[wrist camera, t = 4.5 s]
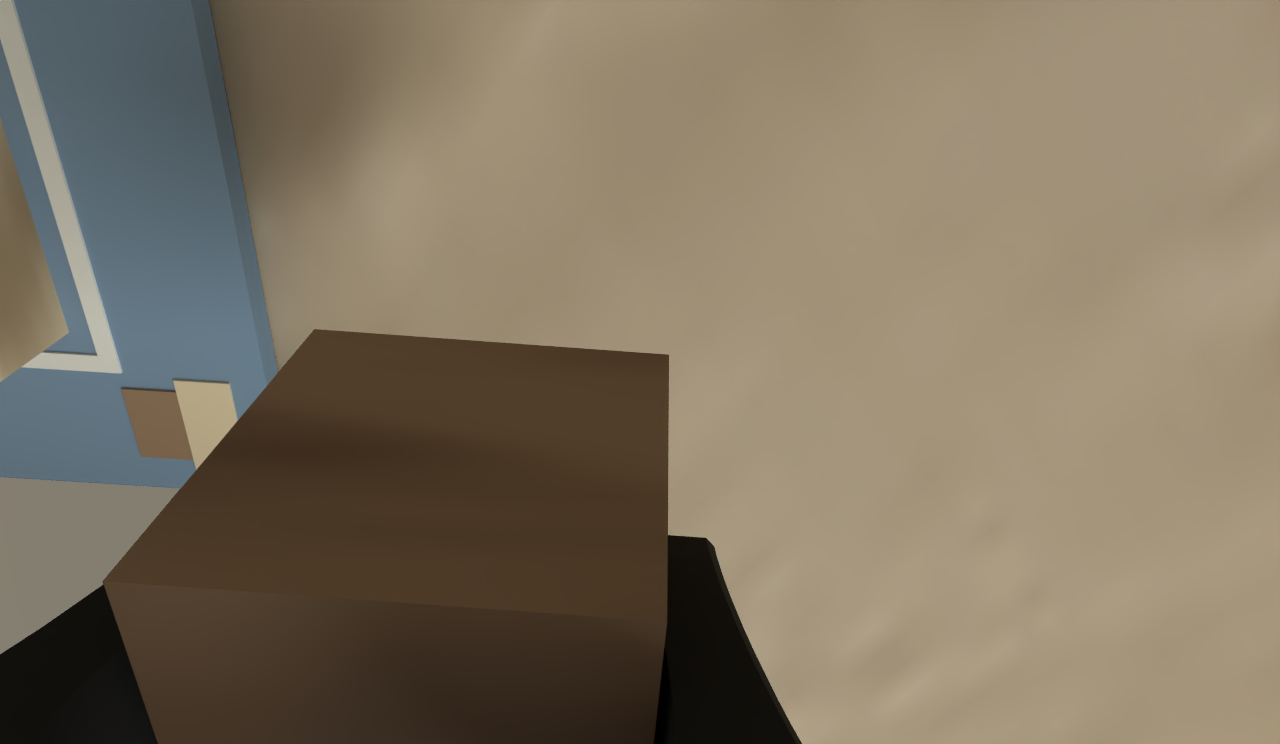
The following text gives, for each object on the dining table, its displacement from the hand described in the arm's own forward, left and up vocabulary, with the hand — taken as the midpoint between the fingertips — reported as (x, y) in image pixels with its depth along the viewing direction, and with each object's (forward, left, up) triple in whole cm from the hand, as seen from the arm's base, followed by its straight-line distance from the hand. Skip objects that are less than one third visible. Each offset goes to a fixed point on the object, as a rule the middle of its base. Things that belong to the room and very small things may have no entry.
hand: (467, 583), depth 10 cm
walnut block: (0, 0, -2) cm, 2 cm away
